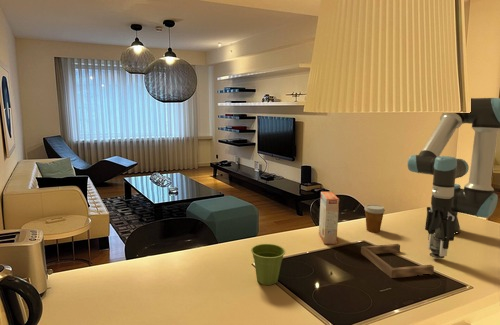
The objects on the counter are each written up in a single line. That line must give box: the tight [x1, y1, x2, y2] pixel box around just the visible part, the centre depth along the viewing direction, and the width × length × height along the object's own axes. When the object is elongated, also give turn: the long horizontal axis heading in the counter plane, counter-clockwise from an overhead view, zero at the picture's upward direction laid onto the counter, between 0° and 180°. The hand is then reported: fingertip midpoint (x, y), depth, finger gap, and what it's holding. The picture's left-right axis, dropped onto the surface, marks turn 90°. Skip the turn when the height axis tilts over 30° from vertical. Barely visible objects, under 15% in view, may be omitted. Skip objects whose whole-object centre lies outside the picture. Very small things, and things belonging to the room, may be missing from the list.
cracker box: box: [318, 191, 340, 245], centre depth 164 cm, size 14×6×21 cm, turn 179°
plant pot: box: [250, 243, 286, 286], centre depth 125 cm, size 12×12×11 cm
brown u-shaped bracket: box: [360, 243, 435, 279], centre depth 141 cm, size 17×22×3 cm
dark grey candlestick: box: [429, 227, 445, 259], centre depth 143 cm, size 6×6×12 cm
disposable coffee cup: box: [364, 204, 386, 233], centre depth 177 cm, size 10×10×12 cm
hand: (437, 252), depth 144 cm, fingers closed on dark grey candlestick, 6 cm apart
